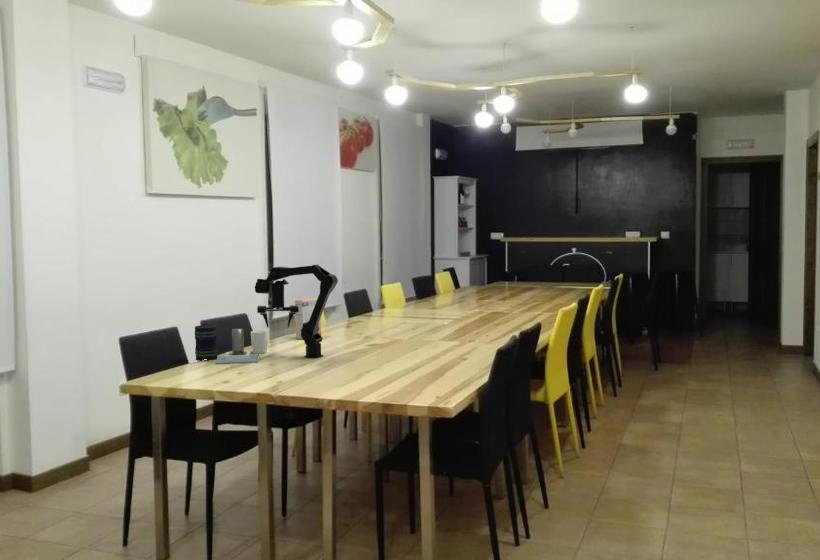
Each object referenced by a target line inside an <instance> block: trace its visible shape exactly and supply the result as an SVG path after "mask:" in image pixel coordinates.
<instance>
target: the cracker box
mask: <svg viewBox="0 0 820 560" xmlns="http://www.w3.org/2000/svg"><path fill="white" fill-rule="evenodd" d="M317 299H318V297H312V298H304V299H303V298H302V299H295V300H294V305H297V306H298V307H299V312H296V314H294V315H295V316H294V317H295V337H296V340H301V339H302V341H304V340H303V338H302V337H301V332H302V331H300V330H301V329H302V327H303V323H305V322H308V321H309V320H310V317H311V315H312V312H313V309H314V307H315V304H316V301H317ZM321 319H322V317H321V318H320V320H319V329H318V334H319V335H320V336H321V337H322V322H321V321H322V320H321Z"/></svg>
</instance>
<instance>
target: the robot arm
mask: <svg viewBox="0 0 820 560" xmlns="http://www.w3.org/2000/svg"><path fill="white" fill-rule="evenodd" d="M310 274H312V275H314V277H315V278H316V280H318V281H319V282H320V284H319V294H318V297H317V298H318V299H317V301H316V304H315V307H314V309H313V312H312V315H311V317H310V320H309V321H308V322H305V323H303V327H302V329H301V330H300V331H302V332H301V337H302V338H303V340H302V341H304V342H303V343H304V344H305V345H306V346H305V355H304V356H303V357H305V358H312V359H316V358H320V357H324V354H322V343H321V342H322V341H323V339H324V338H323V336H322V335H321V336H320V335H319V334H318V329H319V320H320V318H321V319H322V315H323V312H324V309H325V307H326V304H327V302H328V299H329V296H330V294H332V292H333V291H334V289H335V288H336V286H337V285H338V283H339V281H338V280H339V279H338V277H337V276H336V275H335V274H332V273H330V272H329V271H327V269H324V268H323V267H322V266H321V265H320V264H312V265H306V266H305V265H304V266H303V265H302V266H297V267H296V266H294V267H288V266H275V267H272V268H271V269H270V270H269V275H267V277H266V278H257V279H256V282H255V285H254V290H255V291H254V292H255V293H256V294H267V295H268V294H270V293H271V297H270V298H269V297H268V298H267V299H268V301H267V302H268V306H267V305H258V306H257V308H256V310H257V311H256V313H257V314H259V315H260V316H263V317H262V318H263V320H265V324H266V327H267V328H266V329H269V321H268V312H288V319H287V328H289V327H290V324H291V322H292V319H293V316H294V315H295V314H296V312H299V307H298V306H297V305H295V304H293V305H292V304H291V305H289V306H285V285H289V283H290V282H288V281H287V280H286V278H289V277H292V276H302V275H310Z"/></svg>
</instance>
